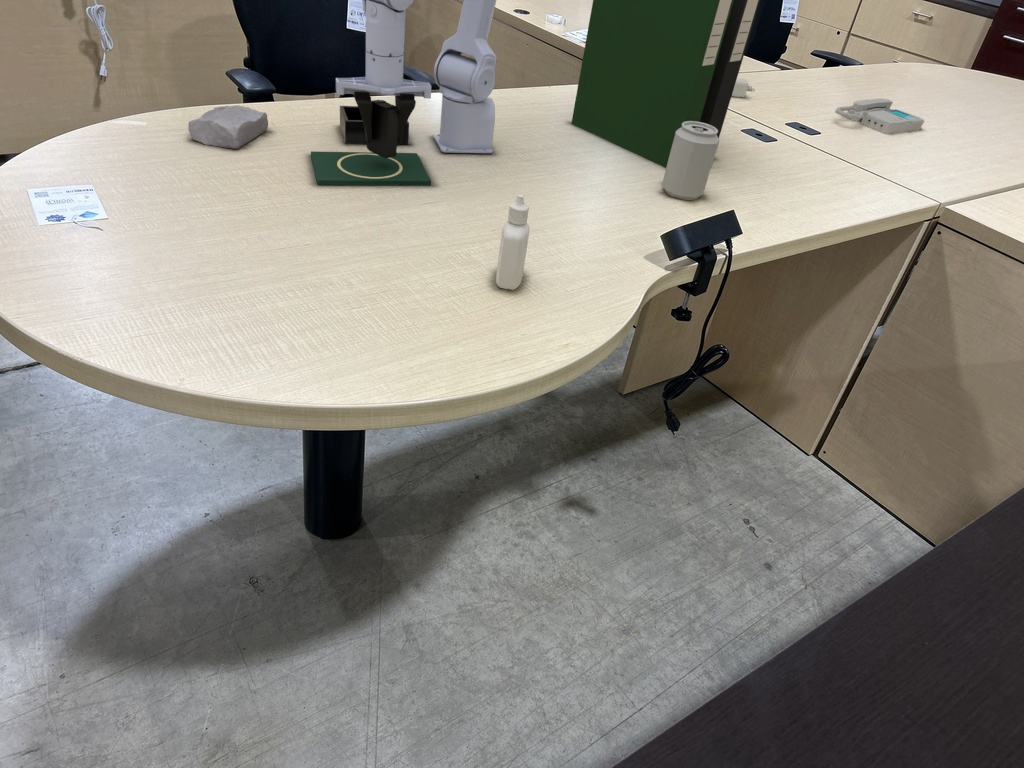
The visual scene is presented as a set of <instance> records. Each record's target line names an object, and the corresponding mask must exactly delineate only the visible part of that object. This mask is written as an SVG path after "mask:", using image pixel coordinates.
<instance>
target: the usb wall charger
mask: <svg viewBox="0 0 1024 768" xmlns="http://www.w3.org/2000/svg"><path fill="white" fill-rule="evenodd" d="M755 91H756V89H755V88H753V86H752V85H751V86H750V83H749V80H747V79H746V78H742V77H737V80H736V83H735V86H734V90H733V93H732V96H731V98H732V97H733V98H742V99H744V98H745V97H746V95H747V92H751V93H753V92H755Z"/></svg>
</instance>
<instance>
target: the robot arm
mask: <svg viewBox="0 0 1024 768" xmlns="http://www.w3.org/2000/svg"><path fill="white" fill-rule="evenodd" d="M361 1H362V11H363V13H364V15H365V76H359V77H358V76H357V77H335V92H336V95H338V96H344V95H353V98H354V101H355V103H356V106H358V108H359V111H360V113H361V117H362V120H363V124H364V129H365V136H366V141H367V142H368V143H372V127H371V120H372V106H373V104H372V102H371V101H372V97H371V96H389V97H390V96H391V97H392V96H393V97H394V102H395V103H394V106H396V108H398V109H399V125H398V138H397V143H401V138H402V134H403V131H404V128H405V125H406V123H407V120H408V121H409V118H410V116H411V114H412V113H413V111H414V110H415V108H416V104H417V100H416V99H415V98H417V97H418V98H424V99H432V84H431V83H430V82H426V81H418V80H411V79H404V61H405V40H406V39H405V36H406V35H405V34H406V11H407V9H408V8H409V7H410V6H411V5H412V4H413V2H414V0H361ZM496 4H497V0H463V2H462V6H461V11H460V16H459V19H458V25H457V29H456V32H455V34H453V35H452V36H450V37H448V38H447V39H446V40H444V41H443V42H442V44H441V45H442V46H441V50H440V53H439V54H438V56H437V58H436V60H435V64H434V66H433V78H434V81H435V84H436V85H437V86H438V87H439V90H438V92H439V93H440V94H442V95H441V96H442V97H441V110H440V111H441V112H440V124H439V125H440V126H439V134H433V139H434V142H435V143H436V145H437V146H438V148H439V149H440V151H441V152H442V153H445V154H446V153H447V154H448V153H449V154H454V153H455V154H493V149H492V148H493V139H494V130H495V121H496V107H495V102H494V100H493V98H492V97H489V96H490V95H491V94H492V92H493V90H494V88H495V85H496V67H497V61H498V57H497V55H496V54H495V52H494V51H493V49H492V47H491V46H490V44H489V42H488V40H489V39H488V38H489V34H490V31H491V25H492V21H493V17H494V12H495V9H496ZM463 54H465V55H468V56H471V57H468V56H465V55H463ZM472 57H473V58H472Z"/></svg>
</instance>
